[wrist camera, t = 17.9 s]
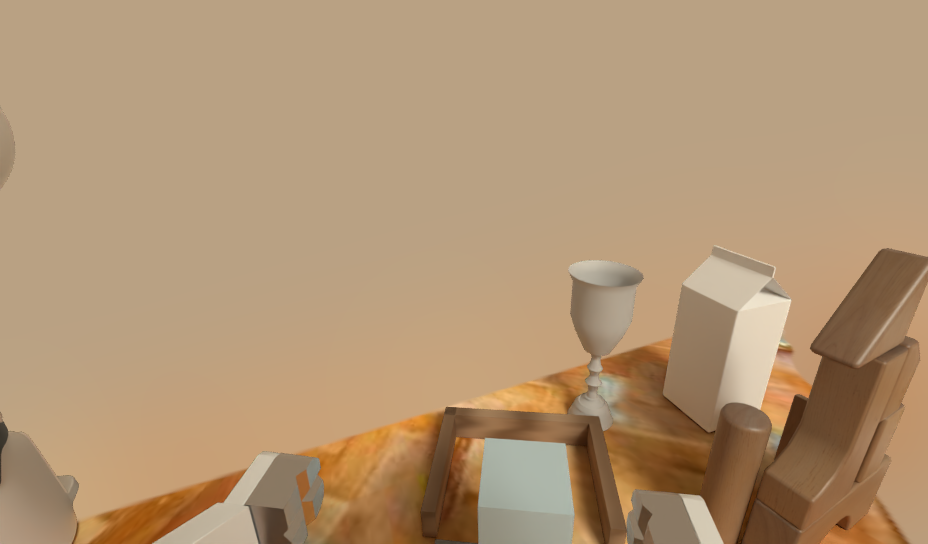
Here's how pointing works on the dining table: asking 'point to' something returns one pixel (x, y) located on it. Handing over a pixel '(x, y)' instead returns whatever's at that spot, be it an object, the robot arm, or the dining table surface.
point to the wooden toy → (825, 420)
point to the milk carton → (725, 336)
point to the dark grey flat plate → (450, 542)
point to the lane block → (525, 493)
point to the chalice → (600, 322)
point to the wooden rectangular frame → (527, 429)
